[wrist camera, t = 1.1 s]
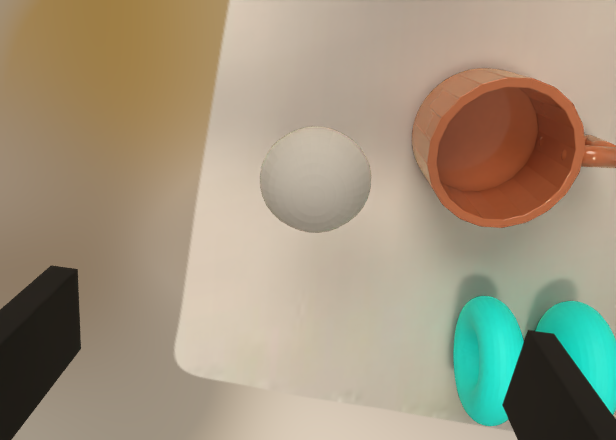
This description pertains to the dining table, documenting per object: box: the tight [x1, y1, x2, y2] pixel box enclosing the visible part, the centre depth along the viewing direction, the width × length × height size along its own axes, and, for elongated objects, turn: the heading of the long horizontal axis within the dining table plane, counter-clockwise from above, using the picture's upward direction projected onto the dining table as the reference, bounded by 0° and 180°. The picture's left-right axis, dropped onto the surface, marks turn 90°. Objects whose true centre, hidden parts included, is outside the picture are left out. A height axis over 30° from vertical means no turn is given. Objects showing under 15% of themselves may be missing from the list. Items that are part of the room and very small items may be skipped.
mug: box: [412, 68, 616, 228], centre depth 36 cm, size 13×10×7 cm
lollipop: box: [260, 126, 371, 233], centre depth 32 cm, size 6×6×15 cm
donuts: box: [453, 296, 616, 426], centre depth 40 cm, size 10×10×10 cm
